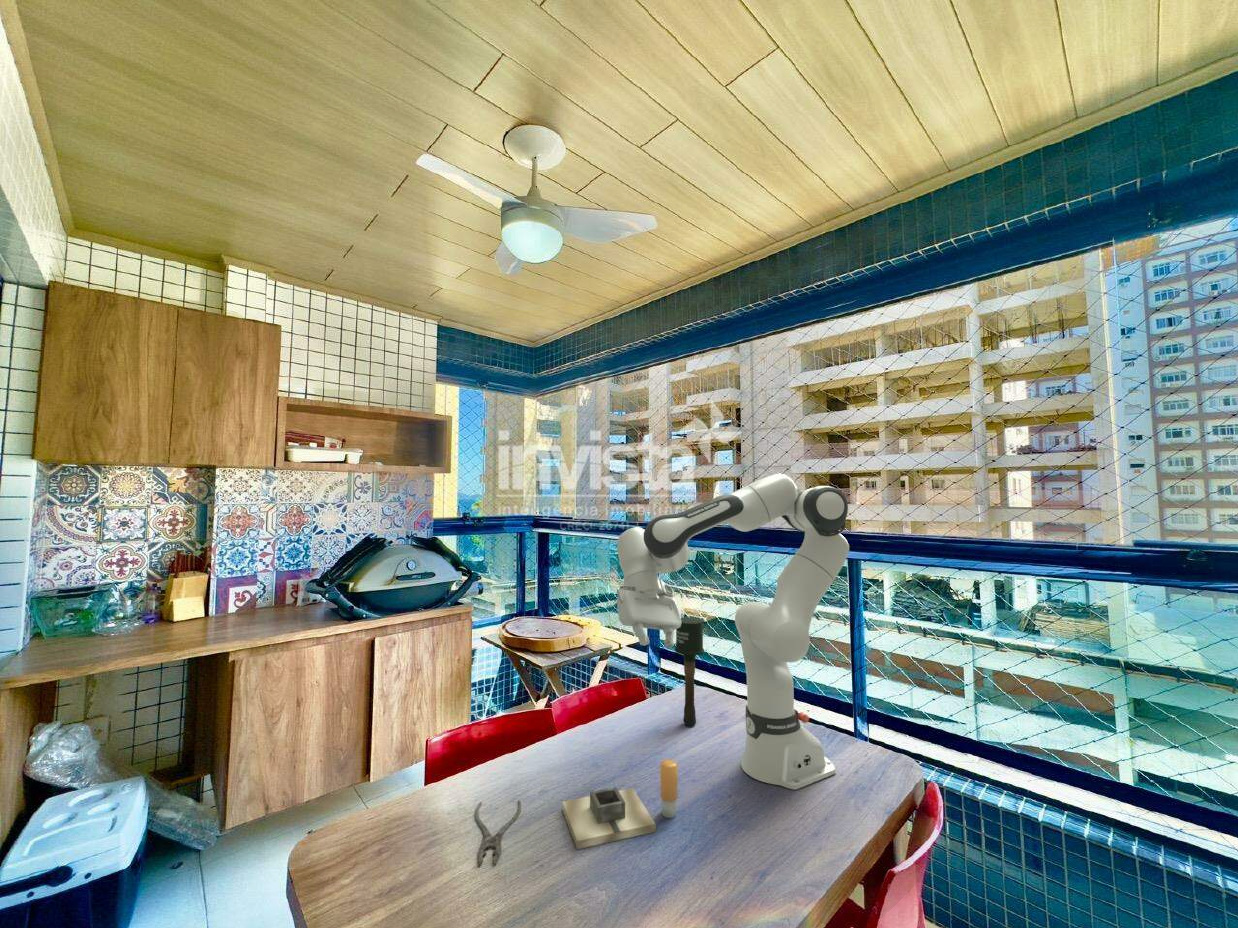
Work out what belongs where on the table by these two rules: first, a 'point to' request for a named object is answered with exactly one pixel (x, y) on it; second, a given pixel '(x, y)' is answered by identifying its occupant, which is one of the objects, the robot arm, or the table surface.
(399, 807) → the table surface
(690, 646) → the stick grenade
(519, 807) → the pliers
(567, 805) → the cream rectangular base board
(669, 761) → the orange rounded handle
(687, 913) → the table surface
